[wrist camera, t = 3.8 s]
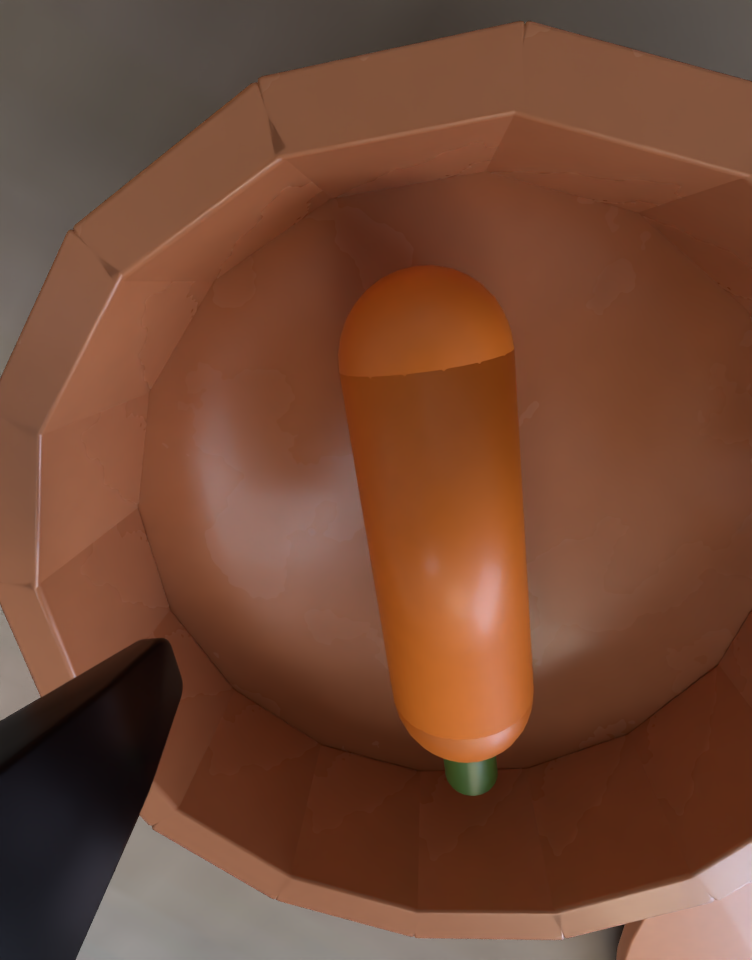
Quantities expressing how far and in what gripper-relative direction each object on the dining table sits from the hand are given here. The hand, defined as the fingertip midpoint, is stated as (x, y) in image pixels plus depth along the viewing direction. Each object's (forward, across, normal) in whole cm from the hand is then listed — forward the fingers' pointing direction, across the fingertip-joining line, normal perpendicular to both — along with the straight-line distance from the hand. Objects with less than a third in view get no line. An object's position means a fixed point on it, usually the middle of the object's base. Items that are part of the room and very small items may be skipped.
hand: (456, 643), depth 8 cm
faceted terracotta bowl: (+5, 0, 0) cm, 5 cm away
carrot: (+4, 0, 0) cm, 4 cm away
